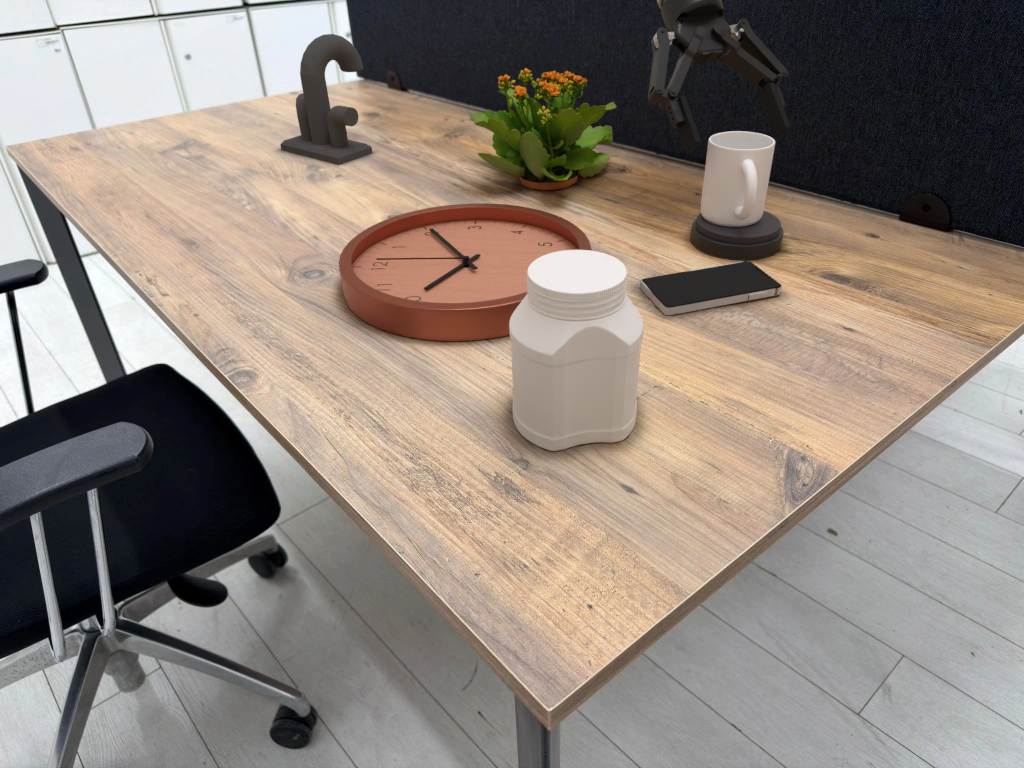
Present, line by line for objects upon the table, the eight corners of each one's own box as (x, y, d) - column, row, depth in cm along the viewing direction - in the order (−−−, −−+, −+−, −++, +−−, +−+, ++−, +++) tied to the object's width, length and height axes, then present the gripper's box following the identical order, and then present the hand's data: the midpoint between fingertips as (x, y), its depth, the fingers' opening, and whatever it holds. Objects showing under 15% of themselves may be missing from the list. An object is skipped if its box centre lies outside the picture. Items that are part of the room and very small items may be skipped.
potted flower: (624, 208, 110) (630, 87, 100) (469, 212, 111) (461, 92, 101) (609, 157, 131) (614, 53, 121) (479, 161, 132) (473, 57, 122)
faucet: (402, 143, 142) (388, 32, 131) (341, 165, 132) (320, 46, 121) (341, 130, 152) (324, 25, 140) (280, 149, 142) (256, 38, 130)
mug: (777, 239, 92) (792, 158, 86) (711, 240, 92) (722, 160, 86) (753, 204, 102) (765, 130, 96) (694, 206, 102) (703, 131, 96)
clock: (599, 307, 76) (308, 311, 78) (598, 340, 79) (315, 343, 80) (585, 200, 102) (366, 205, 104) (584, 227, 104) (371, 231, 106)
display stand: (772, 225, 103) (776, 205, 101) (788, 261, 93) (793, 239, 91) (687, 224, 104) (689, 204, 103) (694, 259, 95) (696, 238, 93)
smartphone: (638, 278, 88) (748, 259, 91) (637, 287, 89) (747, 268, 92) (667, 308, 82) (784, 287, 85) (666, 317, 83) (782, 296, 85)
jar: (617, 379, 72) (625, 239, 64) (649, 437, 65) (664, 288, 56) (504, 394, 71) (498, 253, 62) (524, 456, 63) (519, 305, 55)
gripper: (750, 8, 103) (800, 142, 100) (593, 25, 96) (642, 168, 93) (780, -31, 96) (835, 111, 93) (614, -17, 89) (667, 137, 86)
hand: (738, 140), depth 93 cm, fingers open, 13 cm apart
